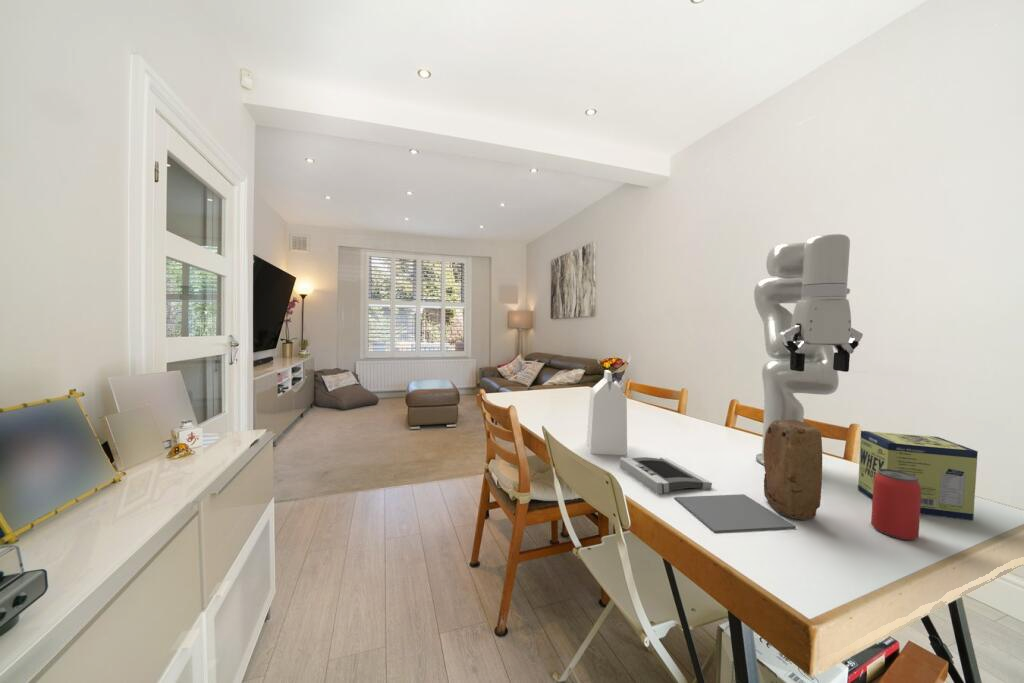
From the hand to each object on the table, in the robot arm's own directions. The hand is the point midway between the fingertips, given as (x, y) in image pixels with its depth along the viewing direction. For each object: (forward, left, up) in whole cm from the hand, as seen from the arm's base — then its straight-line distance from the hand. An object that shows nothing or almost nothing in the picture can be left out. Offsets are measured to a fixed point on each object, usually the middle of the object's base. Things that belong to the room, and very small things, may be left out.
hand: (818, 370), depth 79 cm
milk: (+32, -43, -32) cm, 62 cm away
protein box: (-26, 0, -32) cm, 42 cm away
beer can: (-8, +10, -32) cm, 34 cm away
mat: (+20, 0, -32) cm, 37 cm away
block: (+6, 0, -32) cm, 32 cm away
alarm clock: (+25, -19, -32) cm, 45 cm away
